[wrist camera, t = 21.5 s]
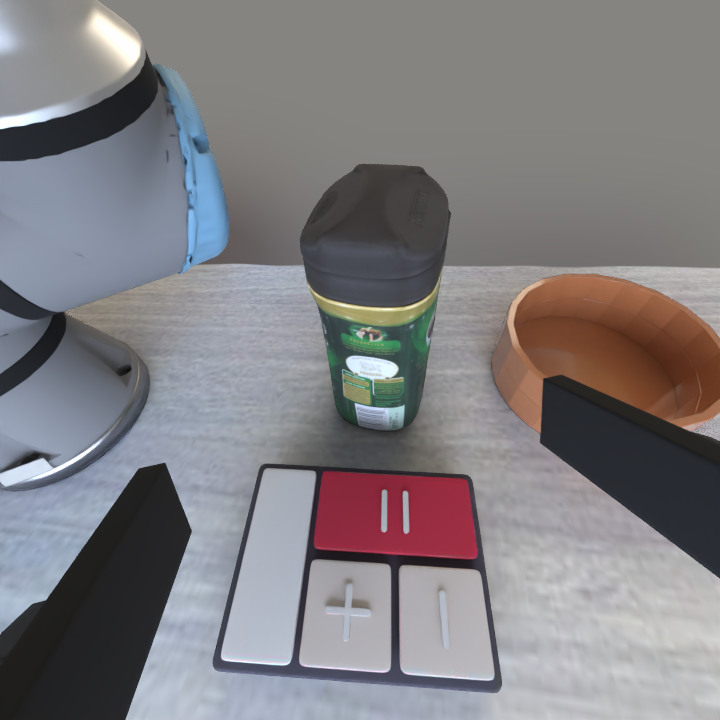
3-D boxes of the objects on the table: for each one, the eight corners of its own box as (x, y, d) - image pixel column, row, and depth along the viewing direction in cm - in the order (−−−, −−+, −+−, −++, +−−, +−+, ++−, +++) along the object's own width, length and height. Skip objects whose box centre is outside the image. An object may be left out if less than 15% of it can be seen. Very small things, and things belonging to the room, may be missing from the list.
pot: (476, 419, 29) (493, 384, 25) (504, 301, 38) (520, 259, 33) (696, 490, 25) (764, 463, 20) (670, 337, 33) (713, 295, 29)
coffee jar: (351, 343, 35) (329, 147, 20) (427, 354, 34) (462, 151, 19) (325, 426, 29) (267, 236, 15) (415, 443, 28) (450, 251, 13)
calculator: (510, 697, 16) (203, 673, 17) (484, 683, 19) (230, 663, 20) (475, 470, 23) (257, 458, 23) (460, 489, 26) (270, 478, 27)
